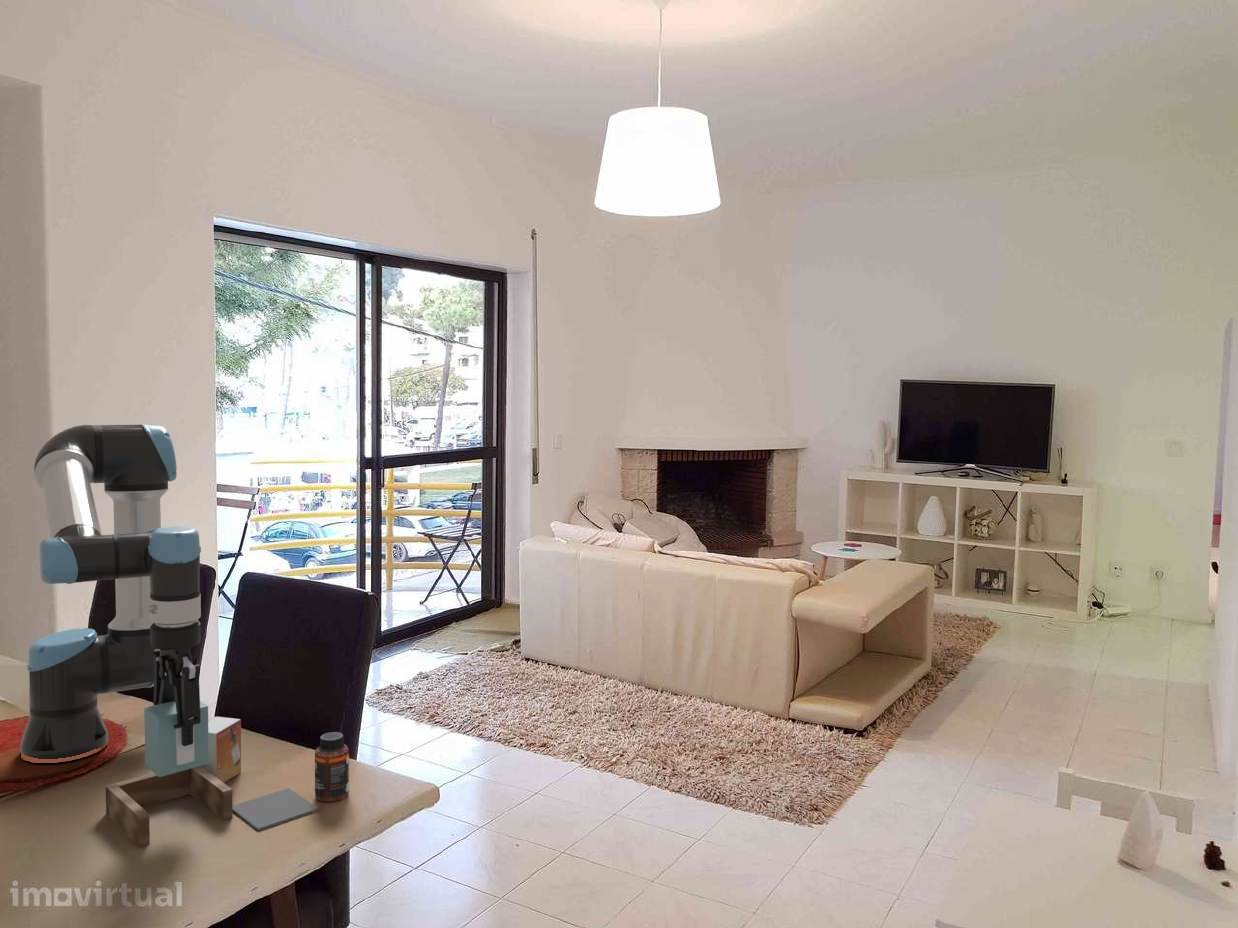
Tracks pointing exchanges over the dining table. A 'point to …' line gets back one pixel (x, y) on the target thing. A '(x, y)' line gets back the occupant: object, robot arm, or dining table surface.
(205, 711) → the block
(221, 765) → the small box
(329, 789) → the supplement bottle
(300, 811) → the mat
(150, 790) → the frame
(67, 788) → the dining table surface
